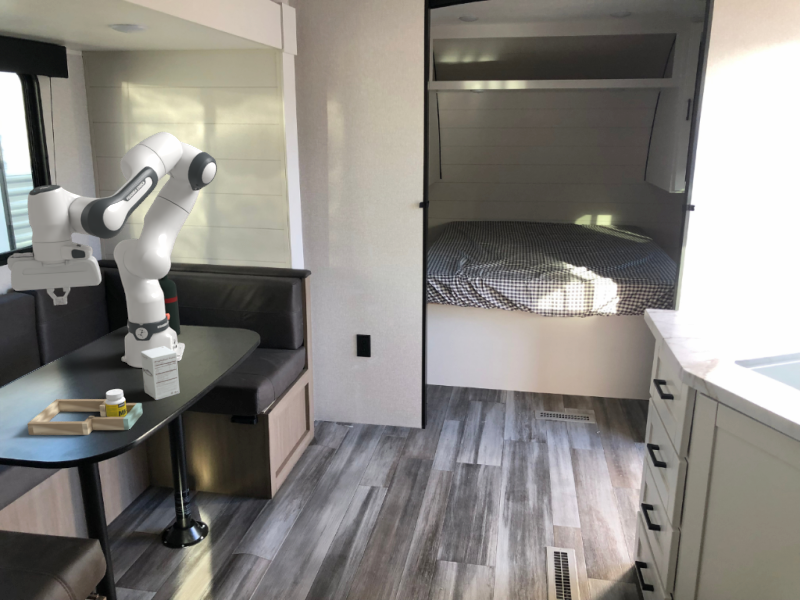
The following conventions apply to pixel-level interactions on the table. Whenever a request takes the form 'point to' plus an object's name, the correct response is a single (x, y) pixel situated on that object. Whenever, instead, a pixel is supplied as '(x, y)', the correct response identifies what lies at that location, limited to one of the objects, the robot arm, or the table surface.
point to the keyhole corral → (44, 427)
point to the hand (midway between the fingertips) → (60, 304)
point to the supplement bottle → (115, 403)
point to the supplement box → (160, 372)
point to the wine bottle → (170, 302)
